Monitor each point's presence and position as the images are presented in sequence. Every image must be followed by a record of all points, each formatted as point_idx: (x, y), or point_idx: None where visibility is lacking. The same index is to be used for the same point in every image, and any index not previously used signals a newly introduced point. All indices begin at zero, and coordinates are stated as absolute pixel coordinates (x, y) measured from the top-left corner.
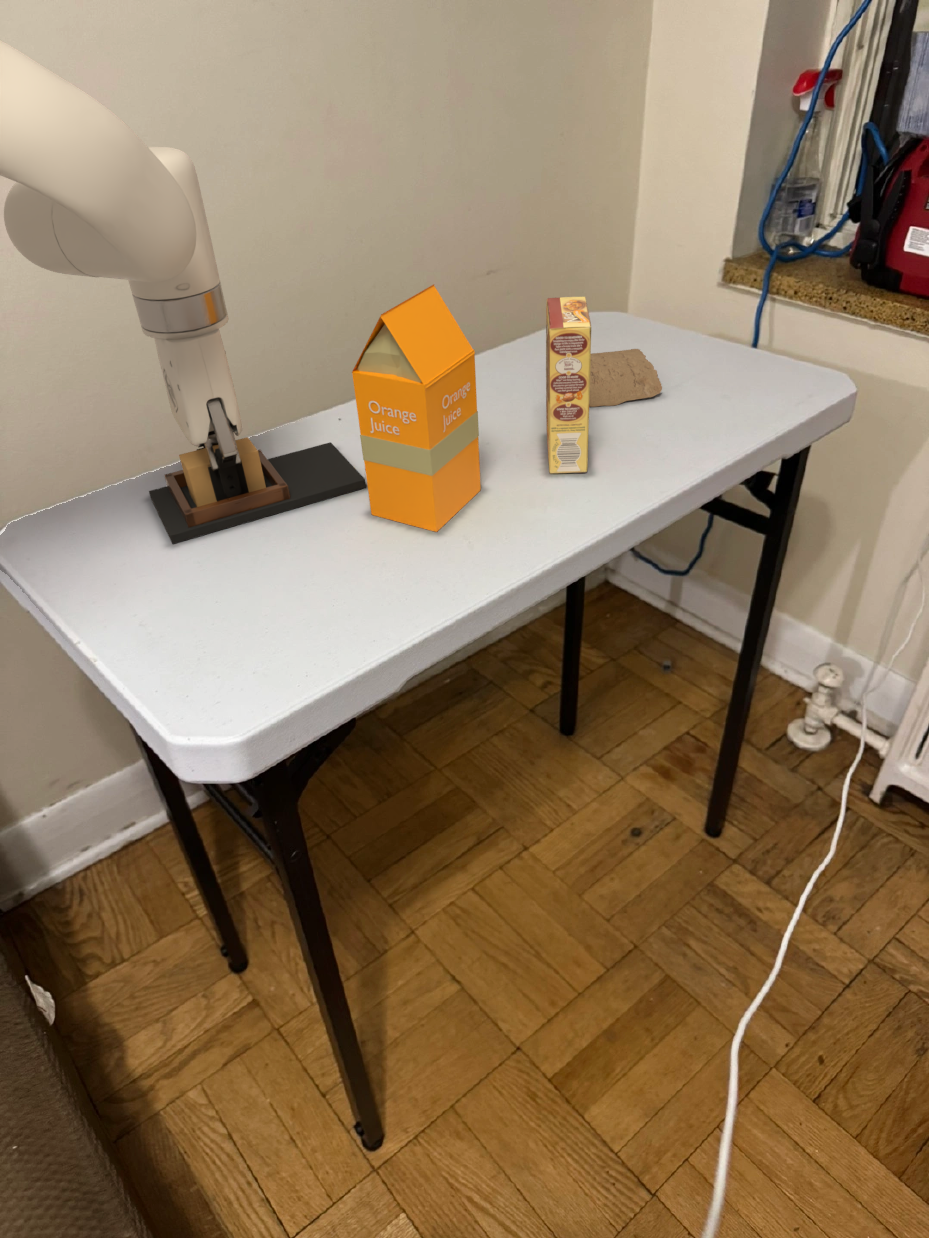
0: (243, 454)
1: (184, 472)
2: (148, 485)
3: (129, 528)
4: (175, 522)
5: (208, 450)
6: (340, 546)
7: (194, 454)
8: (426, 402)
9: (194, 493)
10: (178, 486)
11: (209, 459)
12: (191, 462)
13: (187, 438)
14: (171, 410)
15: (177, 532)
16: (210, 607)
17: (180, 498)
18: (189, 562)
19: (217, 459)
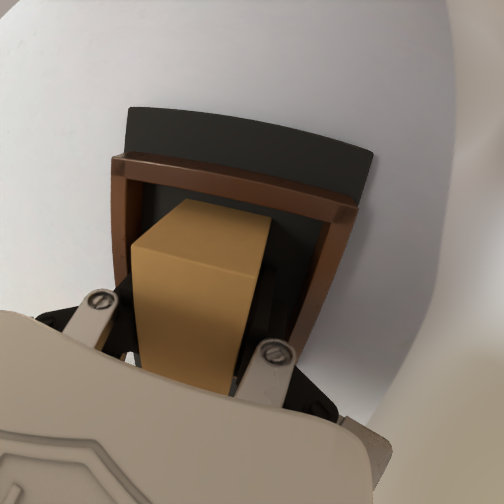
0: (143, 367)
1: (240, 243)
2: (430, 182)
3: (272, 52)
4: (168, 134)
5: (66, 329)
6: (46, 292)
7: (219, 310)
8: None
9: (167, 214)
10: (256, 203)
11: (100, 311)
12: (169, 277)
13: (39, 330)
14: (342, 435)
15: (128, 124)
16: (5, 122)
17: (187, 177)
18: (78, 119)
19: (69, 318)
